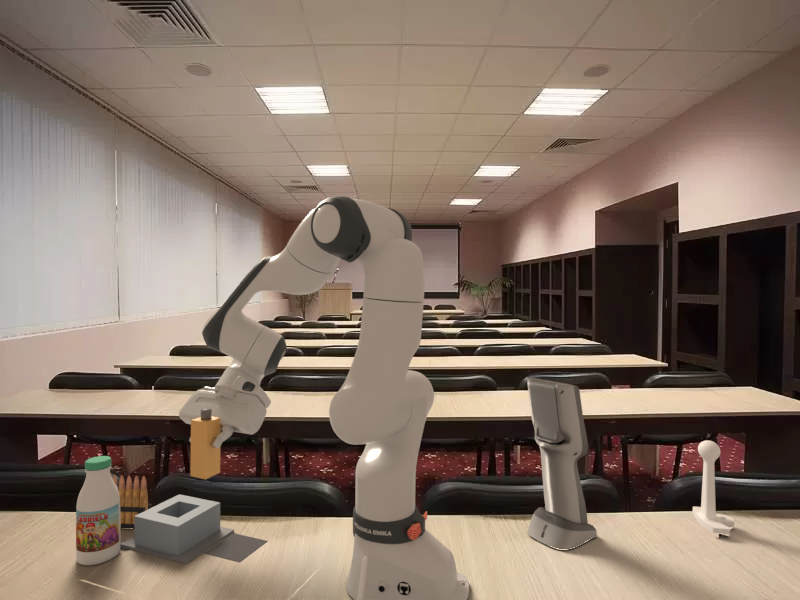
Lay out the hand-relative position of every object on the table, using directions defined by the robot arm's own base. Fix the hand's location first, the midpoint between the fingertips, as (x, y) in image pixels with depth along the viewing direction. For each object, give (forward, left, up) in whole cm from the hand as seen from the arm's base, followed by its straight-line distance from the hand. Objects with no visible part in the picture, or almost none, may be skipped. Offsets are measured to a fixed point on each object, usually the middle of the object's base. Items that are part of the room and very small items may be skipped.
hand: (203, 444), depth 105 cm
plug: (0, -1, -7) cm, 7 cm away
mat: (-8, -1, -21) cm, 23 cm away
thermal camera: (-71, -33, -22) cm, 81 cm away
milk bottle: (+16, +12, -22) cm, 29 cm away
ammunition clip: (+22, +1, -22) cm, 31 cm away
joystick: (-104, -50, -22) cm, 117 cm away
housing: (+6, +1, -21) cm, 22 cm away
